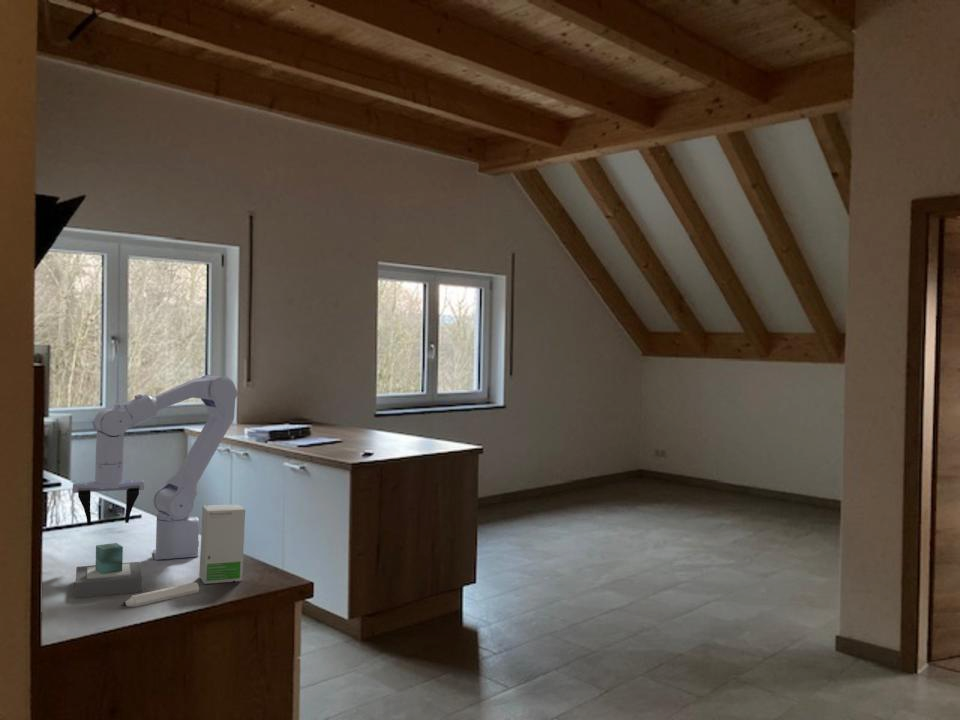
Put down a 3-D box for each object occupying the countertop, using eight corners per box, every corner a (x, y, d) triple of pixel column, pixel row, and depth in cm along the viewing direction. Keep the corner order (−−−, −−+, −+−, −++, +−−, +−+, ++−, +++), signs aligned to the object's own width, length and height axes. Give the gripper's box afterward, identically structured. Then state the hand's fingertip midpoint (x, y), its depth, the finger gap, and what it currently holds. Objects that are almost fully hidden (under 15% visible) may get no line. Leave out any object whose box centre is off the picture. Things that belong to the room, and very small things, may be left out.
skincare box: (203, 585, 167) (205, 511, 167) (198, 576, 173) (200, 505, 173) (244, 581, 171) (246, 508, 171) (238, 572, 177) (240, 502, 177)
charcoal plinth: (138, 575, 172) (138, 560, 172) (141, 591, 161) (142, 575, 161) (76, 581, 167) (76, 565, 167) (75, 598, 156) (75, 581, 156)
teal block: (115, 566, 167) (116, 542, 167) (122, 571, 164) (122, 546, 164) (95, 569, 164) (96, 545, 164) (101, 574, 161) (102, 549, 161)
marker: (117, 614, 151) (195, 595, 163) (122, 611, 150) (200, 592, 162) (114, 600, 152) (192, 582, 164) (119, 597, 151) (196, 579, 163)
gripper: (143, 459, 186) (142, 517, 186) (73, 461, 180) (72, 521, 180) (145, 463, 180) (143, 523, 180) (73, 465, 173) (71, 528, 173)
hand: (108, 523), depth 179 cm, fingers open, 7 cm apart
